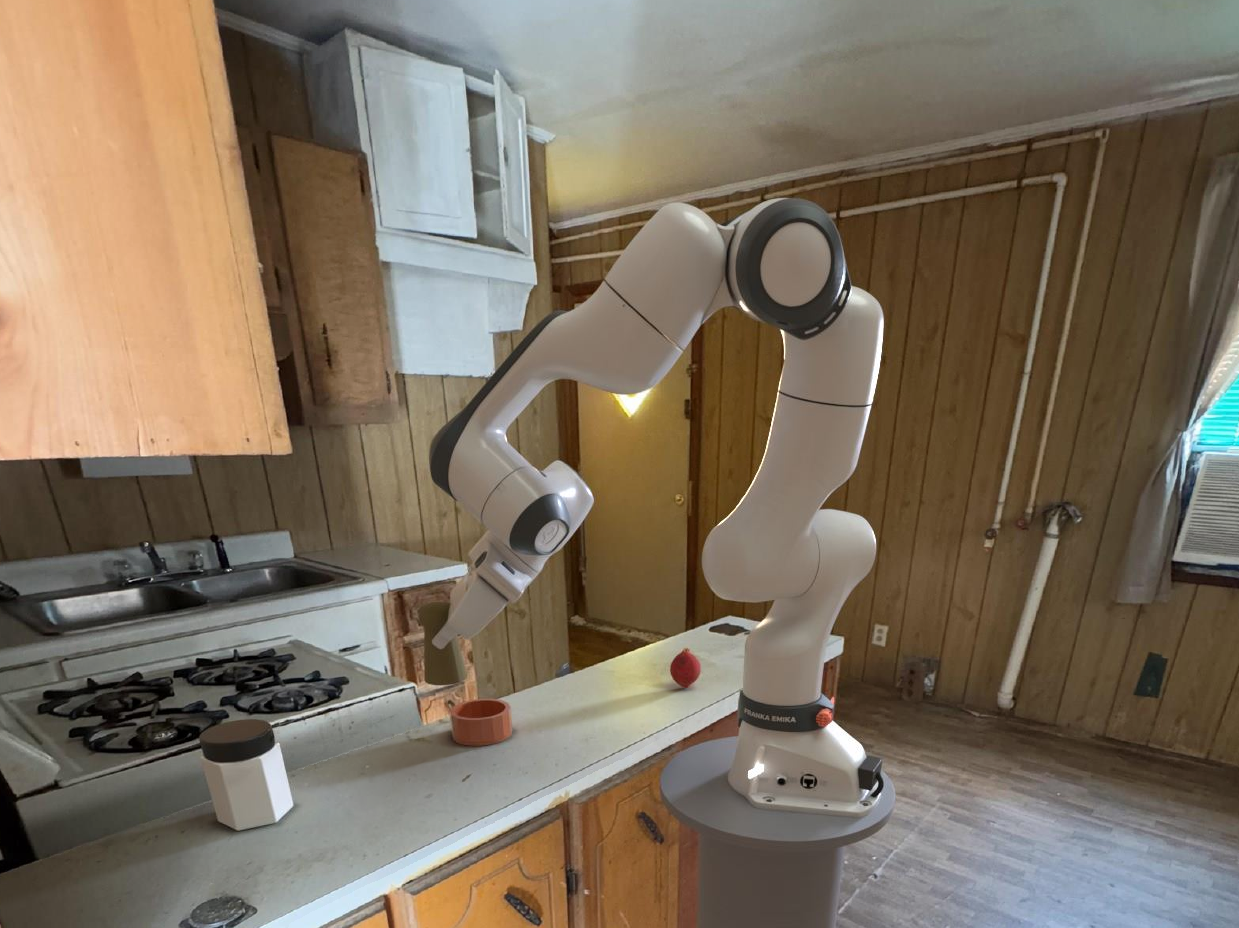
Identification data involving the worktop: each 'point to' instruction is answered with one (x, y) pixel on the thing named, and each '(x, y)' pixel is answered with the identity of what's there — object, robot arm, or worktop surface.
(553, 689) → the worktop surface
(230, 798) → the jar
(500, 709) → the bowl
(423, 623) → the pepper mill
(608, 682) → the worktop surface
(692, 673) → the pomegranate
